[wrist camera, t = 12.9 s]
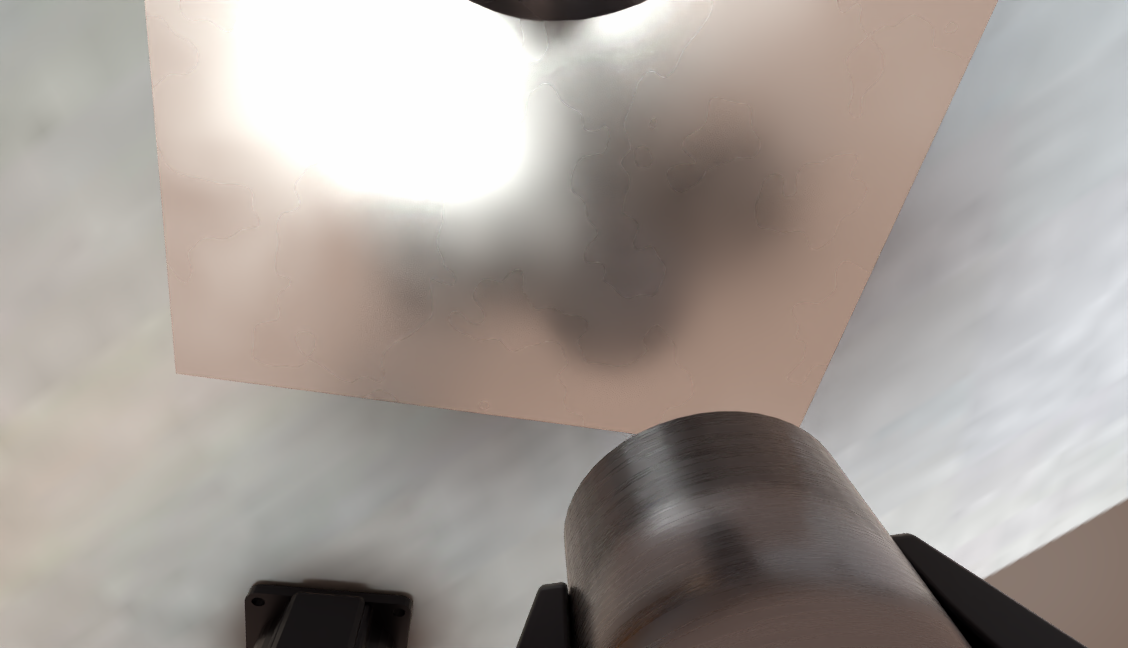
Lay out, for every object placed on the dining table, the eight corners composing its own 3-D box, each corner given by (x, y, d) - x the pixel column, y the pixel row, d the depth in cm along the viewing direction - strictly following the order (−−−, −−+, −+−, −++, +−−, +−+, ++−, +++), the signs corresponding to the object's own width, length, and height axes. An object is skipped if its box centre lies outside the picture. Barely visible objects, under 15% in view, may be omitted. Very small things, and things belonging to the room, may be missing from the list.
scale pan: (737, 376, 19) (786, 453, 15) (247, 302, 17) (176, 373, 13) (1008, -314, 12) (1211, -458, 8) (226, -612, 10) (61, -981, 6)
